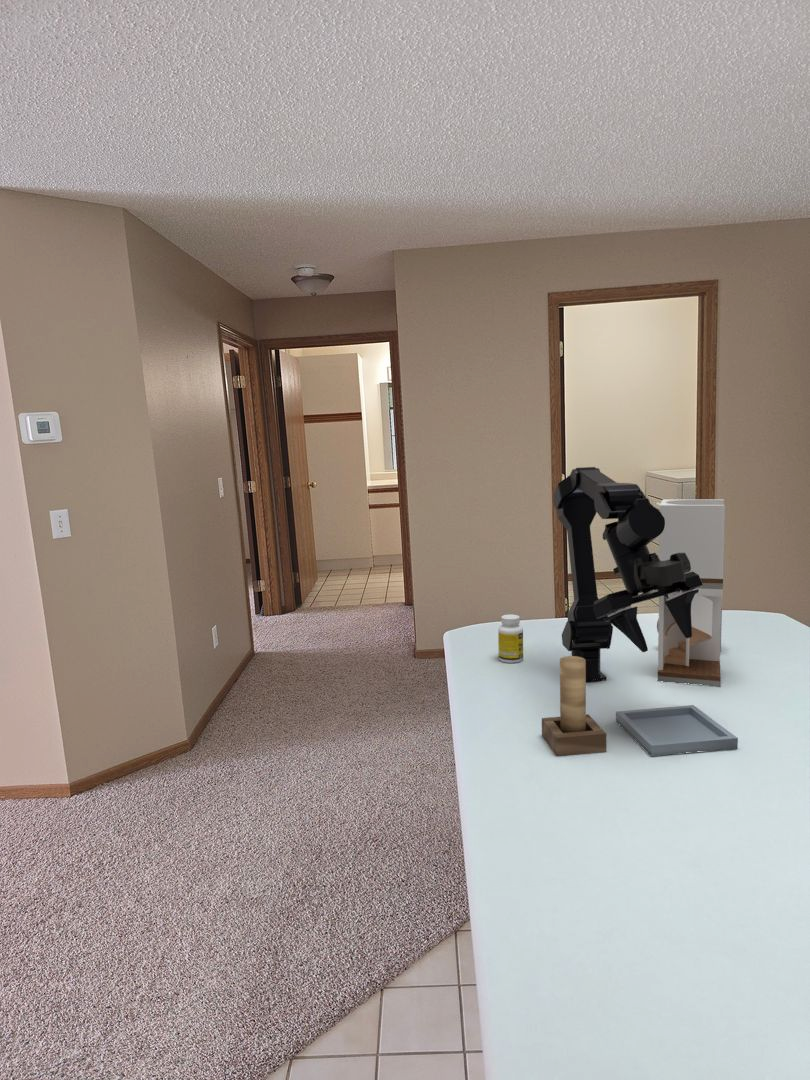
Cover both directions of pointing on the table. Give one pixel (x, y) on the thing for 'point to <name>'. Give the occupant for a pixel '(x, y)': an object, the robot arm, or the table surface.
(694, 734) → the plastic tray
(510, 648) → the supplement bottle
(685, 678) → the spiral staircase model
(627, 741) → the table surface
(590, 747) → the walnut holder
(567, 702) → the oak dowel
